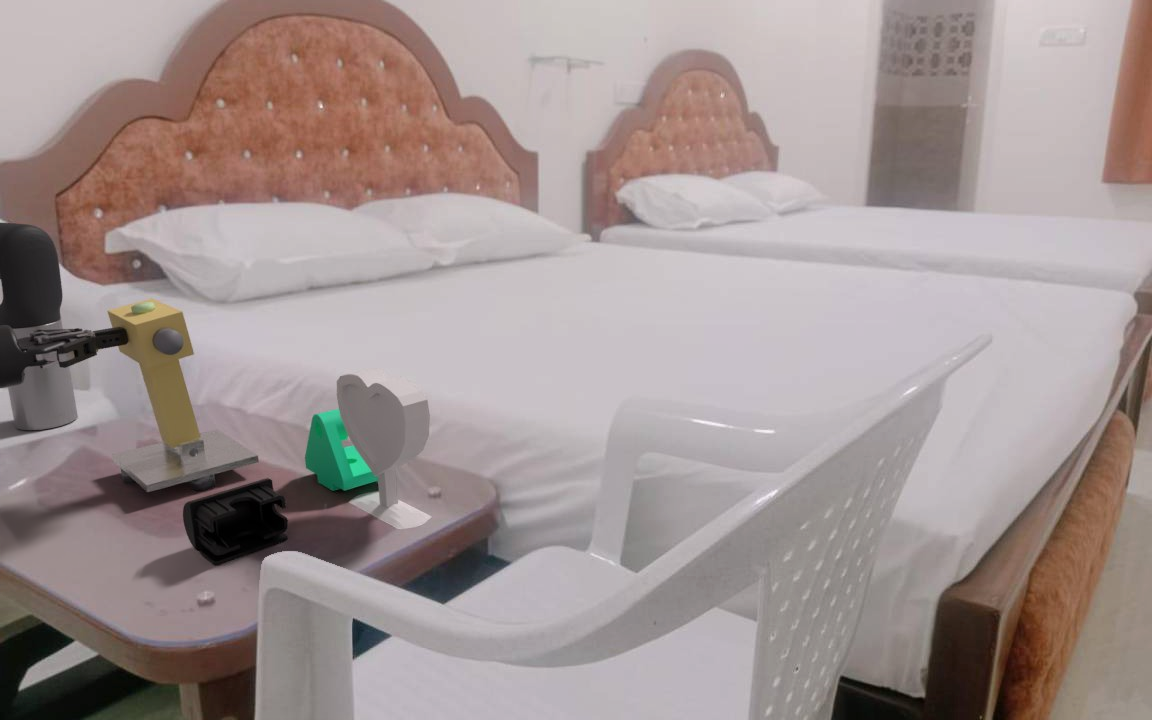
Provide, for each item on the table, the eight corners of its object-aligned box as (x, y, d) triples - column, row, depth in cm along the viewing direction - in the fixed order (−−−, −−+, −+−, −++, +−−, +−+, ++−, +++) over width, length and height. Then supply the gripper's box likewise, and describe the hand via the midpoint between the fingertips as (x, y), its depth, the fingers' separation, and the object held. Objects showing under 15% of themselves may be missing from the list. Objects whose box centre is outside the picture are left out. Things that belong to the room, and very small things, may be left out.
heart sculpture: (340, 497, 119) (328, 368, 114) (373, 486, 123) (362, 360, 118) (407, 534, 109) (398, 393, 104) (441, 521, 112) (433, 384, 107)
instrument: (141, 432, 130) (101, 302, 123) (182, 417, 133) (145, 291, 126) (180, 462, 118) (138, 321, 111) (224, 445, 122) (186, 308, 115)
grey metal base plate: (114, 474, 128) (108, 434, 126) (220, 447, 138) (215, 410, 136) (149, 506, 117) (142, 464, 116) (261, 475, 127) (256, 435, 125)
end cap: (266, 521, 113) (260, 471, 111) (293, 539, 108) (287, 487, 106) (186, 548, 106) (179, 495, 104) (211, 569, 101) (204, 514, 99)
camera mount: (396, 482, 123) (389, 411, 120) (344, 498, 118) (336, 424, 115) (356, 461, 132) (349, 394, 129) (306, 475, 127) (298, 405, 124)
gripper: (-32, 379, 113) (115, 352, 124) (-11, 404, 103) (146, 372, 114) (-45, 322, 111) (106, 299, 122) (-24, 341, 101) (137, 315, 112)
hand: (125, 335), depth 118 cm, fingers closed
